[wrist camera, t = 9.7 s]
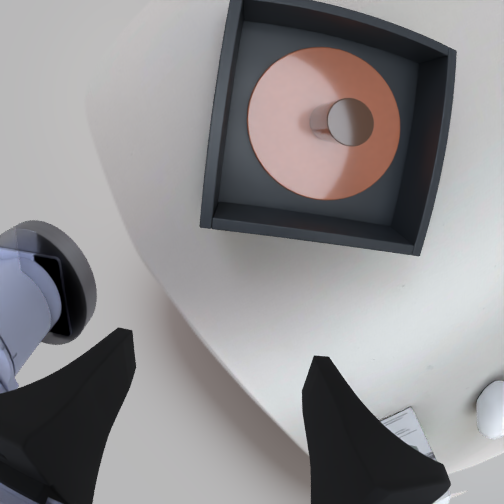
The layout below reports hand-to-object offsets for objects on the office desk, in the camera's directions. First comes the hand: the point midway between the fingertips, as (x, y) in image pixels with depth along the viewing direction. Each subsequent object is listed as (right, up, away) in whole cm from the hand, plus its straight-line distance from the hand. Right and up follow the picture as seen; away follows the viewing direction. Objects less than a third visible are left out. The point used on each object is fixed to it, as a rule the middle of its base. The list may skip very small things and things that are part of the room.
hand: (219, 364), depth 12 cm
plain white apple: (+30, -13, +16) cm, 36 cm away
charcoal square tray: (+5, +12, +5) cm, 14 cm away
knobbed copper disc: (+5, +12, +5) cm, 14 cm away
